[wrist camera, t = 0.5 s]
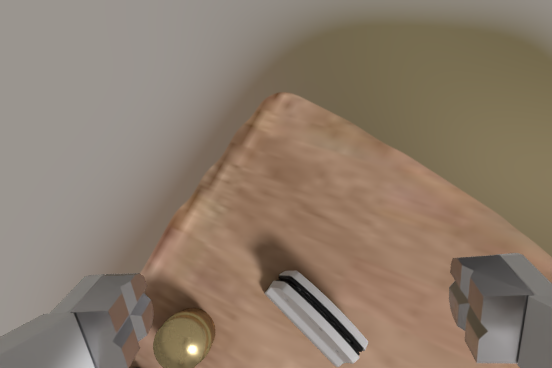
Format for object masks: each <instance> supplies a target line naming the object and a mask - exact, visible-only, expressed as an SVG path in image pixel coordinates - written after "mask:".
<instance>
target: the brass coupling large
mask: <svg viewBox="0 0 552 368" xmlns="http://www.w3.org/2000/svg"><path fill="white" fill-rule="evenodd" d="M214 338H215V325H214V322H213V320H212V319H211V317H210V316H209V315H208V314H207V313H206V312H205V311H203V310H201V309H197V308H188V309H185V310H183V311H180V312H178V313H176V314H174V315H173V316H171V317H170V318H169V319H168V320H167V321H166V322H165V323H164V324H163V326H162V327H161V328H160V329H159V330H158V332H157V333H156V335H155V338H154V343H153V350H154V354H155V357H156V359H157V361H158V363H159V364H160V365H161V366H162V367H163V368H194V367H195V366H196V365H197V364H198V363H199V362H201V361H202V360H203V359H204V358H205V356H206V355H207V354H208V352H209V350H210V348H211V346H212V343H213V341H214Z"/></svg>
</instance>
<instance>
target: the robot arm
mask: <svg viewBox="0 0 552 368" xmlns="http://www.w3.org/2000/svg"><path fill="white" fill-rule="evenodd" d="M450 273H451V274H452V276H453V278H454V280H455V282H454V283H453V284H452V285H451V286H450V287H449V302H450V309H451V312H452V315H453V318H454V320H455V322H456V324H457V326H458V327H460V328H461V329H463V330H464V331H465V342H466V344H467V346H468V347H469V349H470V351H471V353H472V355H473V357H474V359H475V361H476V363H518V366H519V367H520V368H552V283H551V282H550V281H549V280H548V279H547V278H546V277H545V276H543V275H542V274H541V273H540V272H539V271H538V270H537V269H536V268H535V267H534V266H533V265H532V264H531V263H530V262H529V261H528V260H527V259H526V258H525V257H524V256H523V255H522V254H519V253H511V254H499V255H490V256H476V257H461V258H453V259H452V262H451V270H450ZM146 288H147V284H146V281H145V278H144V276H143V275H141V274H140V273H137V274H136V273H135V274H106V275H104V274H101V275H89V276H86V277H84V278H83V279H82V280H81V281H80V282H79V283H78V284H77V285H76V286H75V287H74V289H73V290H71V292H70V293H69V294H68V295H67V296H66V297H65V298H64V299H63V300H62V301H61V302H60V303H59V304H58V305H57V306H56V307H55V308H54V309H53V310H52V311H51V312H50V313H49V314H43V315H41V316H39V317H37V318H35V319H34V320H32V321H30V322H28V323H26V324H24V325H22V326H20V327H18V328H17V329H14V330H12V331H11V332H9V333H7V334H5V335H3V336H1V337H0V368H129V367H130V365H131V364H132V362H133V360H134V358H135V356H136V355H137V353H138V351H139V349H140V346H139V343H138V341H140V340H141V339H143V338H144V337H145V336H147V334H148V333H149V331H150V329H151V327H152V322H153V317H154V312H153V305H152V301H151V299H150V298H149V297H148V296H146V295H145V294H144V292H145V290H146Z"/></svg>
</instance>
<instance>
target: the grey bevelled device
mask: <svg viewBox="0 0 552 368" xmlns="http://www.w3.org/2000/svg"><path fill="white" fill-rule="evenodd" d="M279 276H280V277H279V279H280V280H276V281H273V282H272V284H271V285H270V287H269V288H268V290H267V291H265V293H264V294H265V295H266V296H267V297H268V298H269V299H270V300H271V301H272V302H273V303H274V304H275V305H276V306H277V307H278V308H279V309H280V310H281V311H282V312H283V313H284V314H285V315H286V316H287V317H288V318H289V319H290V320H291V321H292V322H293V323H294V324H295V325H296V326H297V327H298V329H299V330H300V331H301V332H302V333H303V334H304V335H305V336H306V337H307V338H308V339H309V340H310V341H311V342H312V343H313V344H314V345H315V346H316V347H317V348H318V349H319V350H320V351H321V352H322V353H323V354H324V355H325V356H326V357H327V358H328V359H329V360H330V361H331V362H332V363H333V365H334V366H336V367H339V366H340V365H342V364H343V363H354V362H356V361H357V360H358V359H359V355H360V354H359V352H362V351H365V349H366V347H367V345H368V341H367V340H366V338H365V337H364V336H363V335H362V334H361V332H360V331H359V330H358V329H357V328H356V327H355V326H354V325H353V324H352V322H351V321H350V320H349V319H348V318H347V317H346V316H345V315H344V314H343V313H342V312H341V311H340V310H339V309H338V308H337V307H336V306H335V305H334V304H333V303H332V302H331V301H330V300H329V299H328V298H327V297H326V296H325V295H324V294H323V293H322V292H321V291H320V290H319V289H318V288H316V287H315V286H314V285H313V284H312V283H311V282H310V281H309V280H307V279H306V278H305V277H304V276H303V275H302V274H301V273H299V272H298V271H284V272H282V273H281V274H279Z"/></svg>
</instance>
